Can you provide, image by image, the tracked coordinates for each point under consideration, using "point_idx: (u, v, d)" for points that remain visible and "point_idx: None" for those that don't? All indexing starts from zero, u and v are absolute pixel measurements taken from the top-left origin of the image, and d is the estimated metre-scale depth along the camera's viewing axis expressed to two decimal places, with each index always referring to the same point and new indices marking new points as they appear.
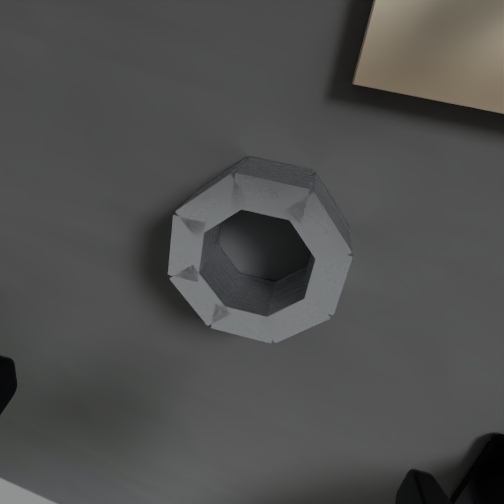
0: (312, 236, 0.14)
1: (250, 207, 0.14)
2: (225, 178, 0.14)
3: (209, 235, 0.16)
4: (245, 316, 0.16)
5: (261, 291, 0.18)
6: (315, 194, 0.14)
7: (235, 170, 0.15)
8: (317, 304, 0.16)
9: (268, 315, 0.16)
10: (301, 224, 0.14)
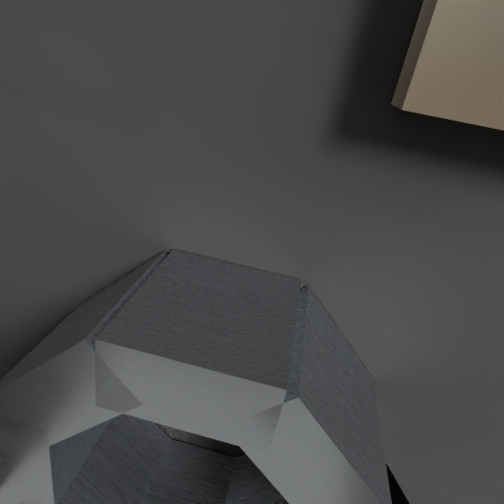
0: (296, 482, 0.06)
1: (143, 411, 0.06)
2: (74, 348, 0.06)
3: None
4: None
5: (205, 494, 0.09)
6: (302, 399, 0.05)
7: (111, 314, 0.06)
8: None
9: None
10: (267, 457, 0.06)
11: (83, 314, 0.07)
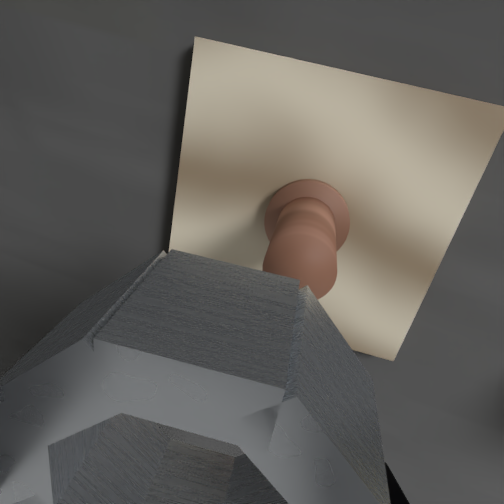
0: (295, 481, 0.06)
1: (141, 410, 0.06)
2: (72, 347, 0.06)
3: None
4: None
5: (204, 494, 0.09)
6: (301, 398, 0.05)
7: (110, 313, 0.06)
8: None
9: None
10: (265, 455, 0.06)
11: (82, 313, 0.07)
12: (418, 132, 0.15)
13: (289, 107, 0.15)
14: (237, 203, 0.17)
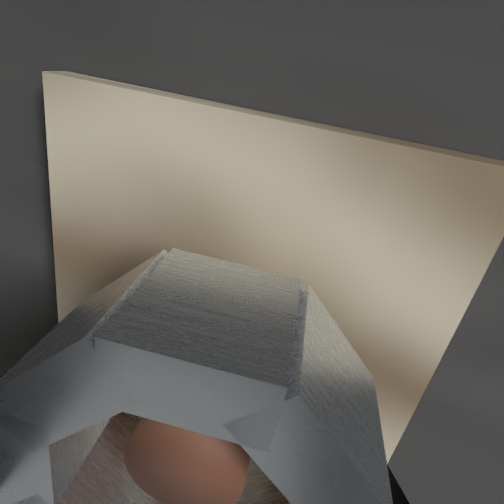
0: (297, 480, 0.06)
1: (143, 410, 0.06)
2: (73, 346, 0.05)
3: None
4: None
5: None
6: (303, 397, 0.05)
7: (111, 312, 0.06)
8: None
9: None
10: (267, 455, 0.06)
11: (83, 312, 0.07)
12: (387, 206, 0.10)
13: (193, 172, 0.10)
14: None
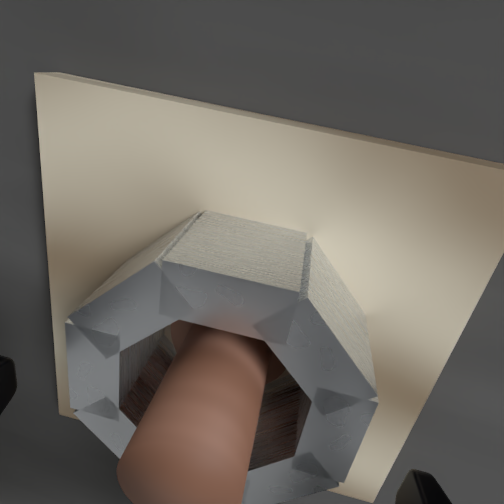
0: (306, 367, 0.08)
1: (194, 317, 0.08)
2: (146, 268, 0.08)
3: (138, 342, 0.10)
4: None
5: None
6: (310, 300, 0.07)
7: (169, 248, 0.08)
8: (316, 466, 0.09)
9: None
10: (285, 348, 0.08)
11: (139, 258, 0.10)
12: (389, 211, 0.09)
13: (189, 176, 0.10)
14: None
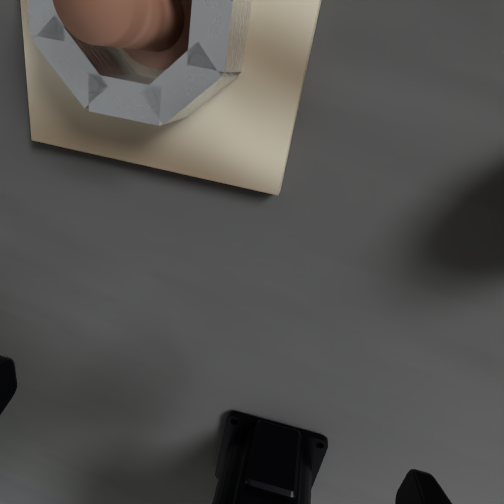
0: None
1: None
2: None
3: None
4: (124, 87, 0.14)
5: None
6: None
7: None
8: (203, 57, 0.13)
9: (150, 83, 0.13)
10: None
11: None
12: None
13: None
14: None
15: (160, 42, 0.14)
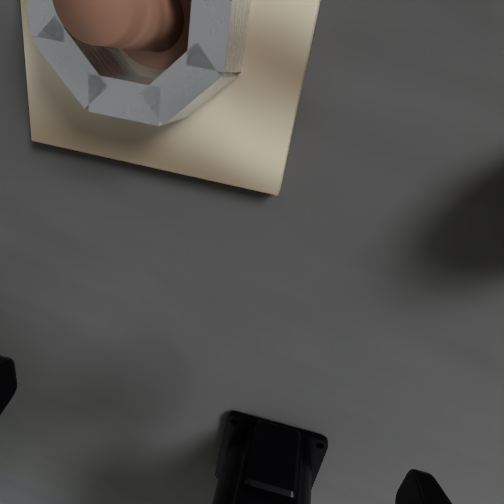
0: None
1: None
2: None
3: None
4: (124, 88, 0.14)
5: None
6: None
7: None
8: (203, 57, 0.13)
9: (150, 83, 0.14)
10: None
11: None
12: None
13: None
14: None
15: (160, 43, 0.14)
